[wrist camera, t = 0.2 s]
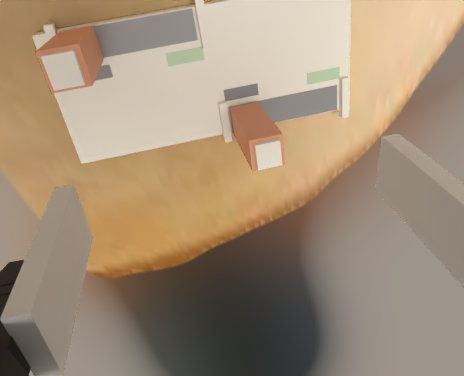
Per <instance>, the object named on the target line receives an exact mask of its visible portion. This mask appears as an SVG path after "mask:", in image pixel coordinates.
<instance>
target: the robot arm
mask: <svg viewBox="0 0 464 376" xmlns="http://www.w3.org/2000/svg"><path fill="white" fill-rule="evenodd" d="M375 190H376V191H377V192H378V193H379V194H380V196H381V197H382V198H383V199H384V200H385V201H386V202H387V203H388V204H389V205H390V207H391V208H392V209H393V210H394V211H395V212H396V213H397V214H398V215H399V216H400V218H401V219H402V220H403V221H404V222H405V223H406V224H407V225H408V227H409V228H410V229H411V230H412V231H413V232H414V233H415V234H416V235H417V237H418V238H419V239H420V240H421V241H422V242H423V243H424V244H425V245H426V246H427V248H428V249H429V250H430V251H431V252H432V253H433V254H434V255H435V256H436V258H437V259H438V260H439V261H440V262H441V263H442V264H443V265H444V266H445V268H446V269H447V270H448V271H449V272H450V273H451V274H452V275H453V276H454V278H455V279H456V280H457V281H458V282H459V283H460V284H461V285H462V286H463V287H464V184H463V183H462V182H460V181H459V180H458V179H456V178H455V177H454V176H453V175H451V174H450V173H449V172H447V171H446V170H445V169H443V168H442V167H441V166H440V165H438V164H437V163H436V162H434V161H433V160H432V159H431V158H429V157H428V156H427V155H425V154H424V153H423V152H422V151H420V150H419V149H417V148H416V147H415V146H414V145H412V144H411V143H410V142H409V141H407V140H406V139H405V138H403V137H402V136H401V135H400V134H394V135H388V136H382V140H381V149H380V155H379V163H378V172H377V179H376V187H375ZM92 239H93V237H92V234H91V231H90V228H89V225H88V223H87V220H86V217H85V214H84V211H83V209H82V206H81V203H80V200H79V197H78V194H77V192H76V189H75V186H74V185H67V186H61V187H55V188H54V190H53V192H52V195H51V197H50V200H49V202H48V204H47V207H46V209H45V212H44V214H43V216H42V219H41V221H40V224H39V226H38V228H37V231H36V233H35V236H34V238H33V241H32V243H31V246H30V248H29V250H28V253H27V255H26V258H25V260H20V261H15V262H10V263H8V264H7V265H6V266H5V267H4V268H3V270H1V272H0V376H29V372H30V370H31V371H32V373H33V375H34V376H62V375H63V374H64V370H65V365H66V360H67V355H68V351H69V346H70V341H71V337H72V332H73V328H74V323H75V318H76V314H77V309H78V304H79V299H80V295H81V290H82V285H83V281H84V276H85V271H86V267H87V262H88V257H89V253H90V248H91V243H92Z"/></svg>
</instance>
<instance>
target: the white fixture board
mask: <svg viewBox="0 0 464 376" xmlns="http://www.w3.org/2000/svg"><path fill="white" fill-rule="evenodd" d="M194 3H195V4H193V5H187V6H181V7H176V8H170V9H165V10H159V11H154V12H148V13H142V14H137V15H131V16H126V17H120V18H115V19H109V20H104V21H98V22H92V23H87V24H81V25H76V26H70V27H65V28H59V29H56V28H55V25H54V23H52V24H46V25H44V26H43V28H44V31H42V32H37V33H36V34H34V35H33V36H32V38H33V40H34V43H35V46H36V48H37V50H38V49H39V48H40V47H41V46H43V45H44V44H45V43H46V42H47V41H49V40H50V39H51V38H52V37H53V36H55V35H56V34H57V33H58V32H60V31H65V30H71V29H76V28H82V27H87V26H94V29H95V32H96V36H97V39H98V42H99V45H100V49H101V52H102V55H103V58H104V60H103V63H102V65H101V67H100V70H99V72H98V74H97V77H96V79H95V82H94V84H93V86H89V87H84V88H79V89H74V90H68V91H63V92H58V93H54V94H55V97H56V100H57V102H58V105H59V107H60V110H61V112H62V115H63V118H64V120H65V123H66V125H67V128H68V130H69V133H70V136H71V138H72V141H73V143H74V146H75V148H76V151H77V154H78V156H79V159H80V161H81V164H83V163H88V162H93V161H98V160H102V159H107V158H112V157H117V156H121V155H126V154H131V153H136V152H140V151H145V150H150V149H155V148H160V147H164V146H169V145H174V144H179V143H183V142H188V141H193V140H198V139H202V138H207V137H212V136H217V135H221V134H223V137H224V141H225V143H227V142H231V141H232V135H231V132H233V127H232V120H231V114H230V107H233V106H238V105H243V104H248V103H253V102H258V103H259V105H260V106H261V107H262V108H263V110H264V111H265V112H266V113H267V115H268V116H269V117H270V119H271V120H272V121H273V122H274V123H278V122H283V121H288V120H293V119H297V118H302V117H307V116H312V115H316V114H321V113H326V112H331V111H335V110H339V116H340V117H342V118H344V117H349V98H350V27H351V0H215V1H209V2H204V0H194Z"/></svg>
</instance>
